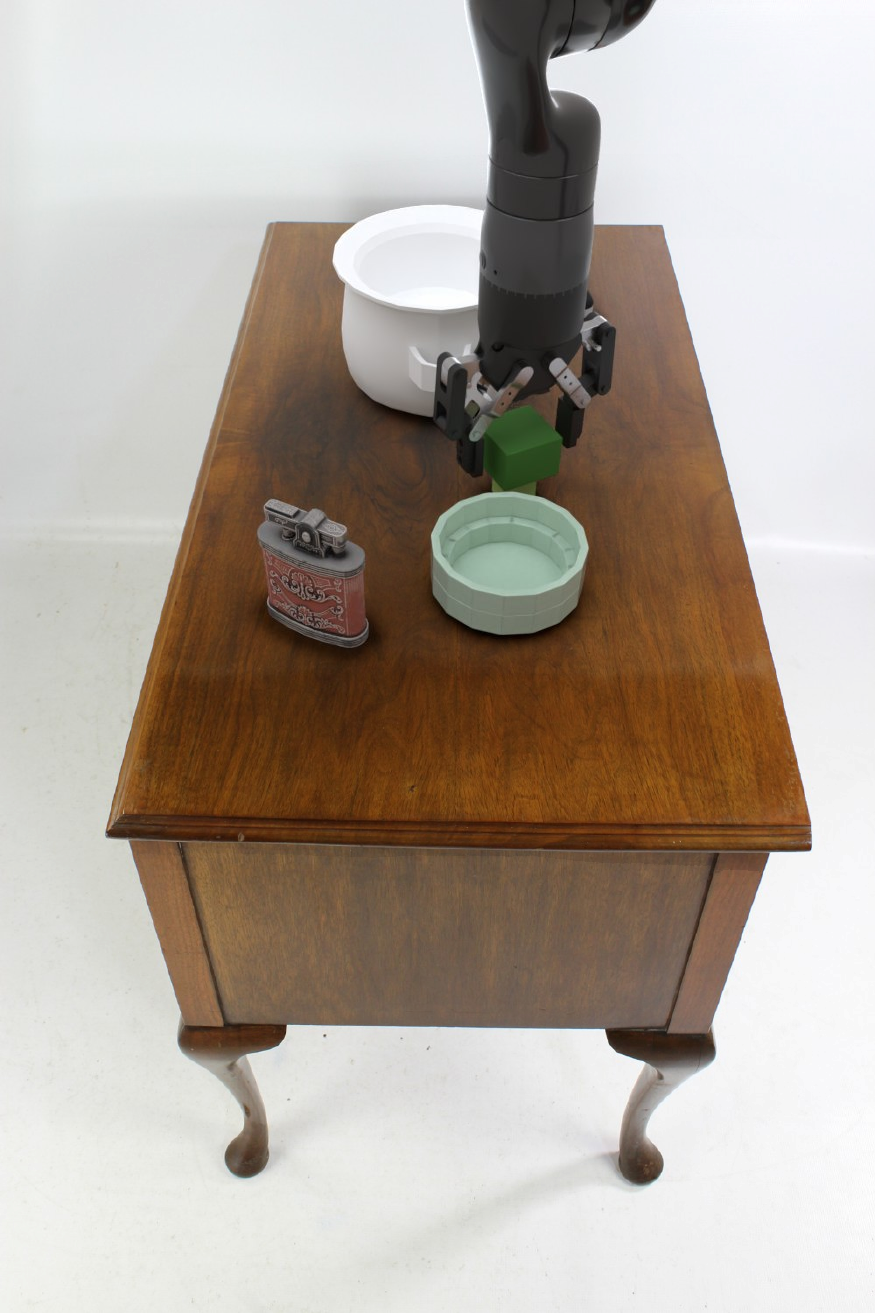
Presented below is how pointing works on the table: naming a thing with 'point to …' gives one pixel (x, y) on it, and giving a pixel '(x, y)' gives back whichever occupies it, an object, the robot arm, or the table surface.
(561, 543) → the bowl
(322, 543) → the lighter
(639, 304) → the table surface
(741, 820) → the table surface
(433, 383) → the pot
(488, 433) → the broccoli
